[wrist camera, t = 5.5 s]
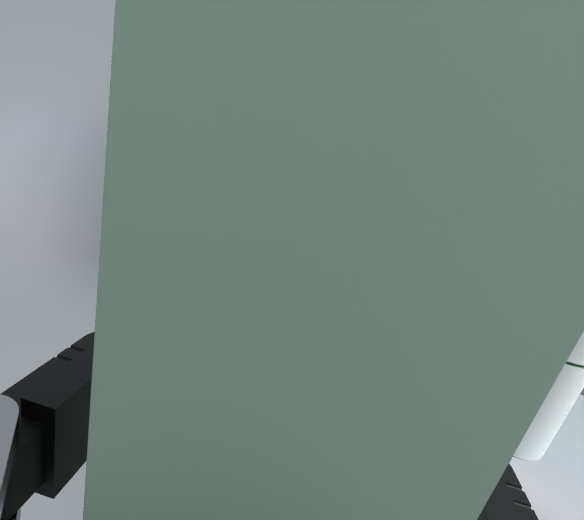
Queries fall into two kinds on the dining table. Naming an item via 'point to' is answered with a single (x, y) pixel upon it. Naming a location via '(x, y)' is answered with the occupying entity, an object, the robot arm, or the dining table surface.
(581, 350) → the cylindrical container
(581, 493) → the dining table surface
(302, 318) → the tall sage green panel
